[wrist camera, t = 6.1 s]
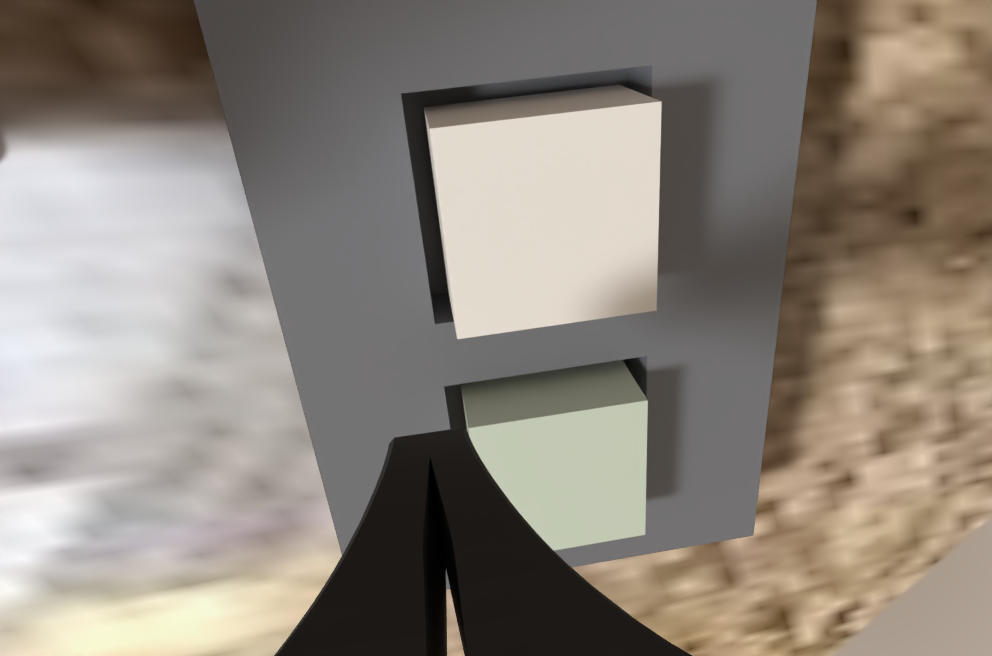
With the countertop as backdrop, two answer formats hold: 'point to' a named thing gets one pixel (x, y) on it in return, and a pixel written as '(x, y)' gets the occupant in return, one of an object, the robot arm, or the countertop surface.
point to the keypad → (417, 239)
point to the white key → (547, 207)
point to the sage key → (566, 449)
